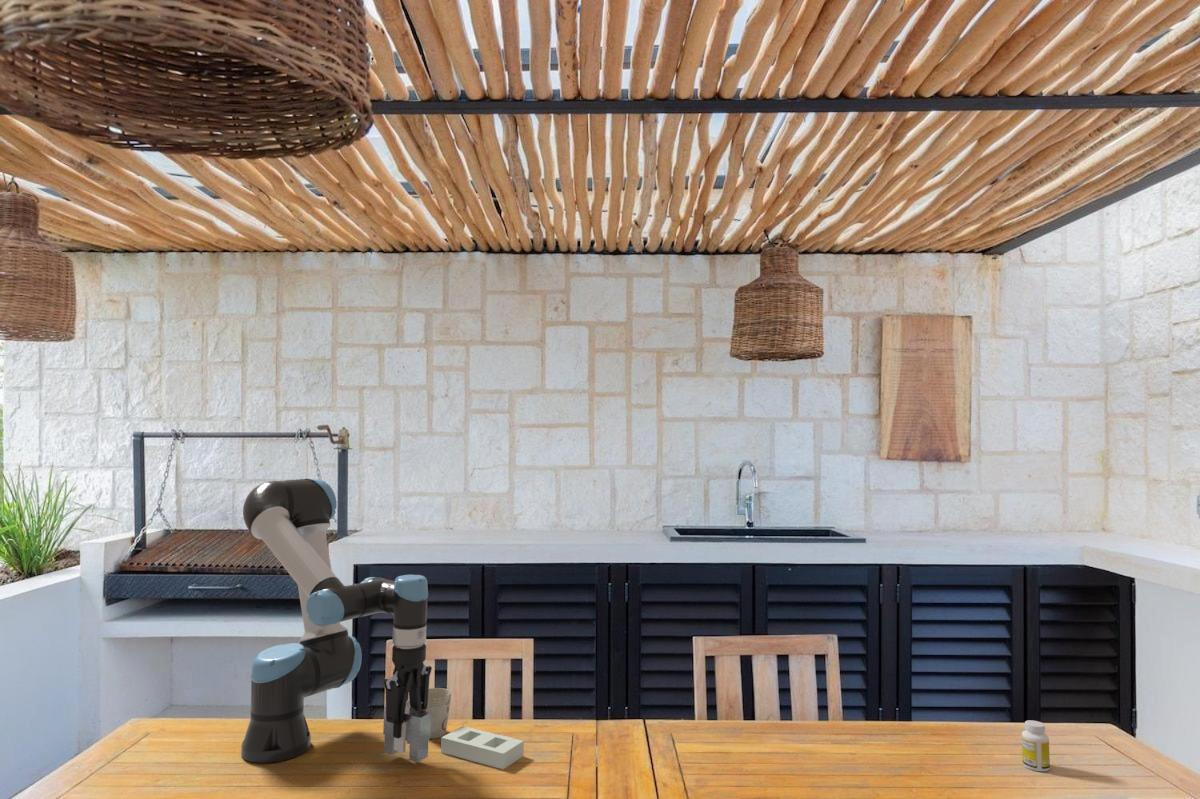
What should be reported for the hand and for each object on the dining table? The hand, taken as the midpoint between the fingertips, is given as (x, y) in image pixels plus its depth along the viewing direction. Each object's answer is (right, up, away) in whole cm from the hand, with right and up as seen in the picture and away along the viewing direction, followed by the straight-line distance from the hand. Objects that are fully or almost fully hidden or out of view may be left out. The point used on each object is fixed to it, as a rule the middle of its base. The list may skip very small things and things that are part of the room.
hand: (406, 747), depth 171 cm
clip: (0, -2, 0) cm, 2 cm away
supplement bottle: (+144, -4, -1) cm, 144 cm away
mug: (+1, -4, +16) cm, 17 cm away
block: (+17, -4, +4) cm, 18 cm away
